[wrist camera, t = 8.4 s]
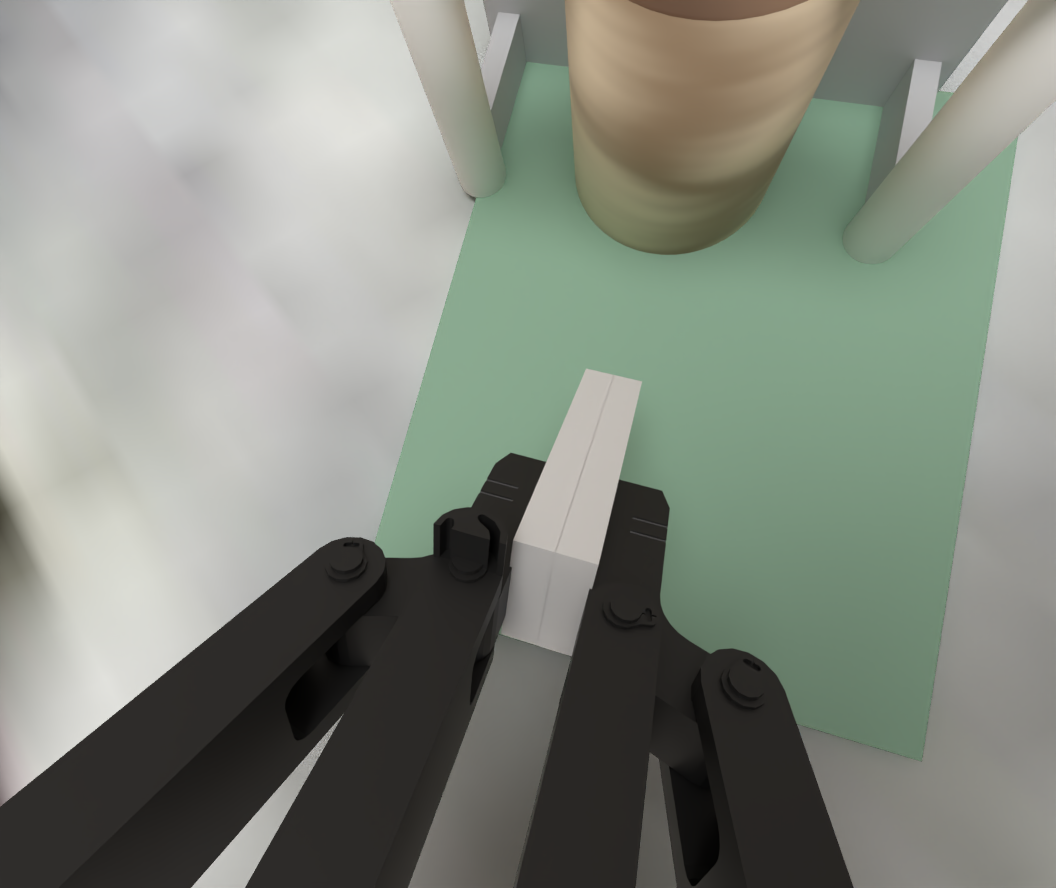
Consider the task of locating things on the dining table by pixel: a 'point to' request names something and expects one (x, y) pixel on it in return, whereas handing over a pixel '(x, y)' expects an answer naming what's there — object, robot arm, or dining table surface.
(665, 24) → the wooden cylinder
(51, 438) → the dining table surface
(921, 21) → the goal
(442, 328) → the pitch
